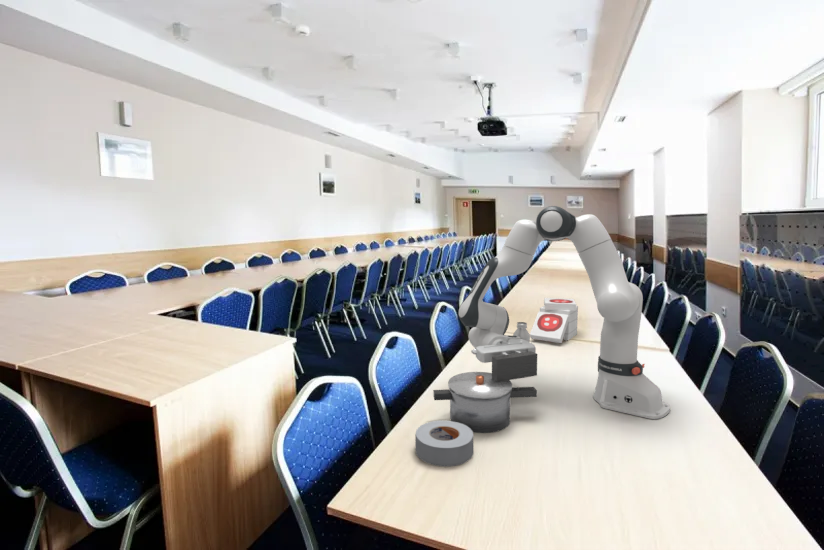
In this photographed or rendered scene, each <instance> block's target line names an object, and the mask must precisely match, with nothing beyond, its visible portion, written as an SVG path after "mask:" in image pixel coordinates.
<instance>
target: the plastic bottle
mask: <svg viewBox="0 0 824 550" xmlns="http://www.w3.org/2000/svg"><path fill="white" fill-rule="evenodd" d="M527 329H528V323H527V322H524V321H518V322H517V323H516V330H515V331H514V332H513V334H512V336H519V337H520V339H522V340H526V341H528V342H530V341H531V337H530V332H529V331H528V330H527ZM530 343H531V342H530Z"/></svg>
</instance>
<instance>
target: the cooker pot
mask: <svg viewBox="0 0 824 550" xmlns="http://www.w3.org/2000/svg"><path fill="white" fill-rule="evenodd" d="M432 390H433V392H432V396H433V400H434V401H448V400H449V404H450V405H449V409H450V410H449V420H450V419H451V420H450V421H452V422H458V423H461V424H464V425H466V426H468V427H469V428H470V429H471V430H472V431H473V433H475V434H476V433H478V434H489V433H496V432H500V431H502V430H505V429H506V428H508V426H510V422H511V399H513V398H514V399H515V398H516V399H517V398H537V397H538V390H537V389H536V388H535V387H534V386H515V387H513V386H512V391H511V393H509V394H508V395H506V396H504V397H501V398H497V399H487V400H480V399H470V398H466V397H462V396H459V395H457V394H455V393H453V392H452V391H451V390H450V389H449V388H448V389H432Z"/></svg>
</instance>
